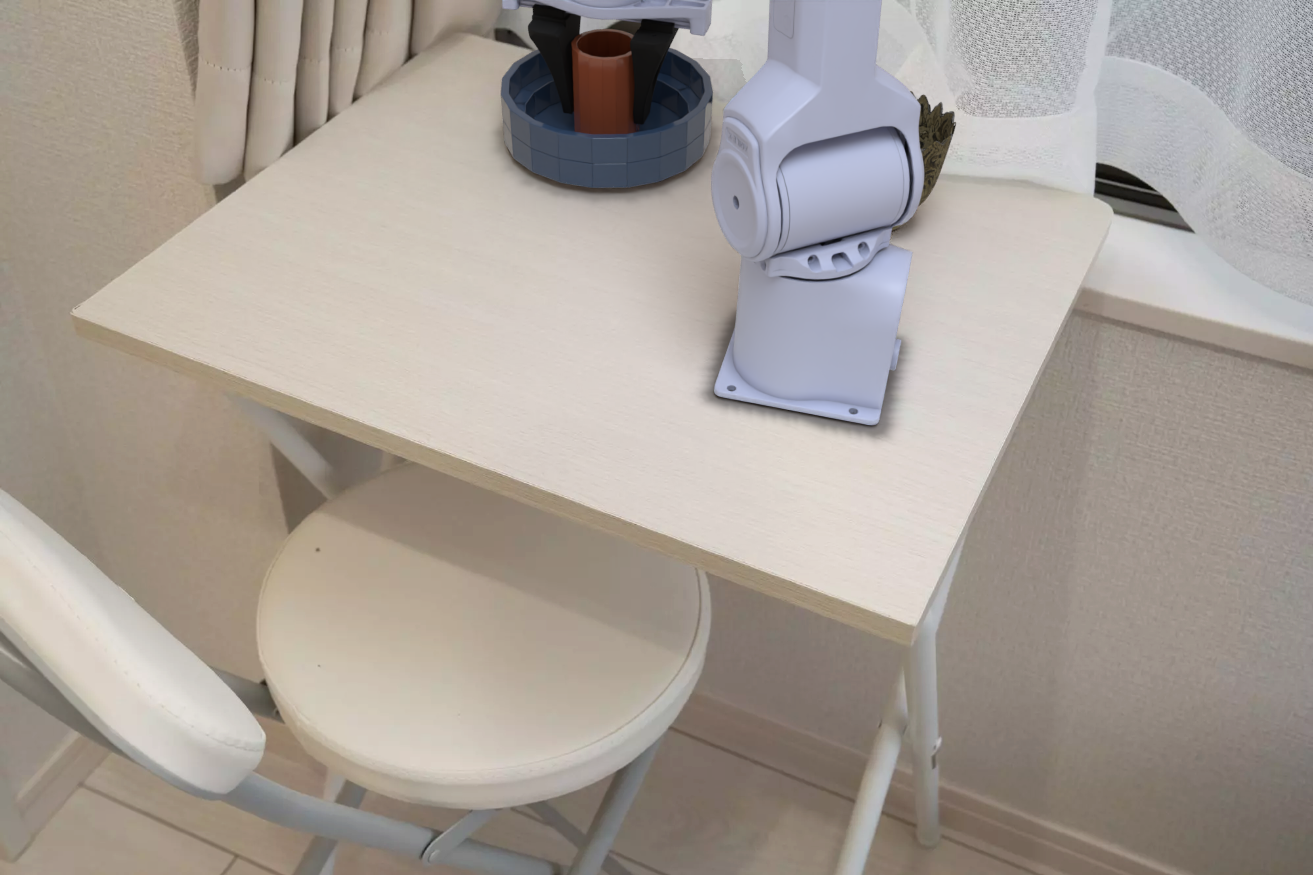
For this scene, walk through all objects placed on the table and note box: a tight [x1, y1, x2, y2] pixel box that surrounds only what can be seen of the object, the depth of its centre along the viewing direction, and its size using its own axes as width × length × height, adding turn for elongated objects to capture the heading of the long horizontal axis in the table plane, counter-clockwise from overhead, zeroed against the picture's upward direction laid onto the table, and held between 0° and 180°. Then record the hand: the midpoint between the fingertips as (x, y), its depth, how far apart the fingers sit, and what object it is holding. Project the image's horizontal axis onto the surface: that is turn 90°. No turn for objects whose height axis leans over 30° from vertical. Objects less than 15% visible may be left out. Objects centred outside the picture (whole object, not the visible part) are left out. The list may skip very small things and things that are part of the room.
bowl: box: [500, 47, 714, 189], centre depth 87 cm, size 15×15×4 cm
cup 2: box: [892, 90, 957, 231], centre depth 78 cm, size 8×7×8 cm
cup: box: [571, 28, 639, 134], centre depth 85 cm, size 5×5×7 cm
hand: (607, 112), depth 87 cm, fingers closed on cup, 5 cm apart
